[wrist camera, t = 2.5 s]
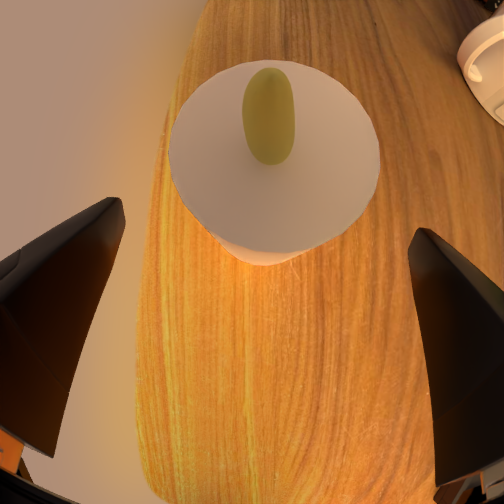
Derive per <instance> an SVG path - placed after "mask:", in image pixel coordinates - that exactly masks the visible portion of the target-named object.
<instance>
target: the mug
mask: <svg viewBox="0 0 504 504" xmlns="http://www.w3.org/2000/svg"><path fill="white" fill-rule="evenodd" d="M457 62H458V64H459V66H460V68H461V70H462V73H463V76H464V78H465V80H466V82H467V84H468V86H469V88H470V90H471V91H472V93H473V94H474V96H475V97H476V99H477V100H478V101H479V103H480V104H481V105H482V106H483V107H484V109H485V110H486V111H487V112H488V113H489V114H490V115H491V116H492V117H493V118H494V119H495V120H497V121H498V122H499V123H500V124H502V125H503V126H504V1H503V2H502V3H501V4H500V5H499V7H498V8H497V9H496V10H495V11H494V12H493V14H492V15H491V16H490V17H489V18H488V19H487V20H486V21H484V22H483V23H481V24H480V25H478V26H477V27H476V28H474V29H473V30H472V31H471V32H470V33H469V34H468V35H467V36H466V38H465V39H464V40H463V42H462V44H461V45H460V48H459V50H458V53H457Z"/></svg>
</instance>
